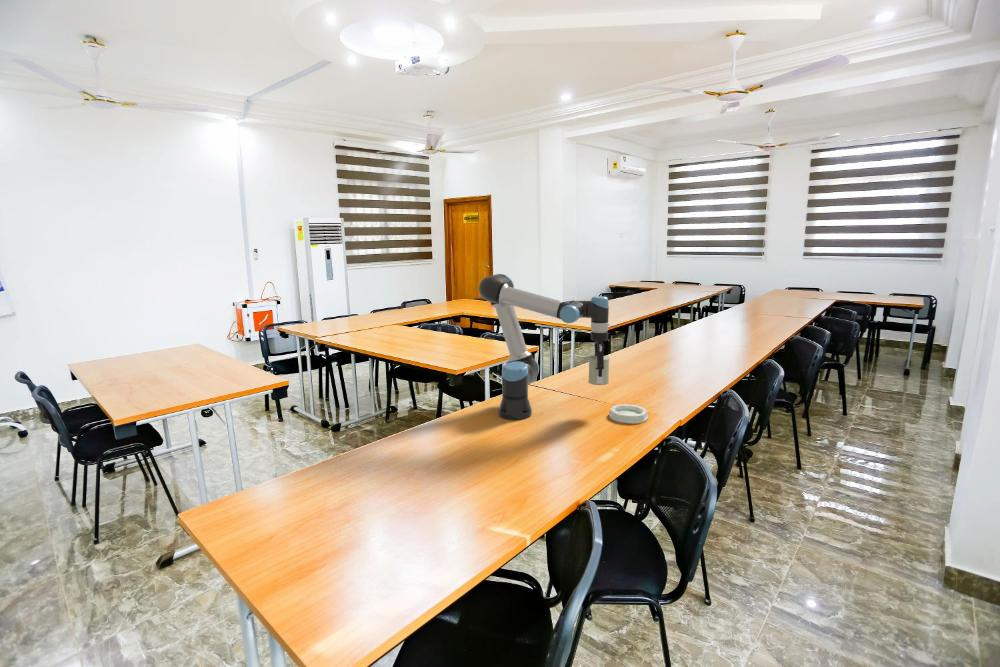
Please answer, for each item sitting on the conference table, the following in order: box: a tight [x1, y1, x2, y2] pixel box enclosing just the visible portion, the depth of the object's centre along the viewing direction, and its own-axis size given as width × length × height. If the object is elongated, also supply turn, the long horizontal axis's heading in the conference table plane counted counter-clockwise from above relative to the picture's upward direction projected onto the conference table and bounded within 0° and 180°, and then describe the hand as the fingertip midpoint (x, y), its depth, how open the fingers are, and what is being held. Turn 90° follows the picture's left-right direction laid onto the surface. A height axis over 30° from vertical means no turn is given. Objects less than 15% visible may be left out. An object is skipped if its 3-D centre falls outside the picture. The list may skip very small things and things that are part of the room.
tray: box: [608, 403, 649, 425], centre depth 222 cm, size 17×17×3 cm
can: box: [587, 354, 610, 386], centre depth 223 cm, size 9×9×12 cm
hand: (598, 380), depth 224 cm, fingers closed on can, 9 cm apart
